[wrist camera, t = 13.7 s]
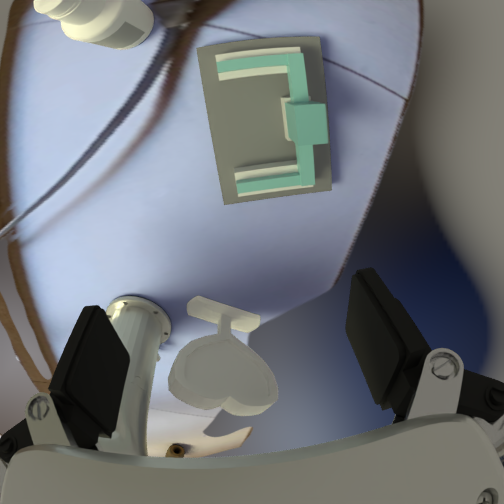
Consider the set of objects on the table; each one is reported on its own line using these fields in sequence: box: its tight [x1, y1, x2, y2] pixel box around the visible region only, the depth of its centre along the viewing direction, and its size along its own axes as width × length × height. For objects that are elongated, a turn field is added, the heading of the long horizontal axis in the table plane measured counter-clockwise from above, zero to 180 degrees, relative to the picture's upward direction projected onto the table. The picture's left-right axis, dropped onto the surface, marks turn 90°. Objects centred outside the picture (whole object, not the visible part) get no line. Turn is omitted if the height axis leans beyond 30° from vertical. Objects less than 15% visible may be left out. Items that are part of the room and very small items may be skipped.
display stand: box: [196, 37, 332, 205], centre depth 31 cm, size 20×14×4 cm
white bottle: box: [34, 0, 154, 50], centre depth 16 cm, size 7×7×18 cm
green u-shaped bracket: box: [216, 53, 328, 194], centre depth 27 cm, size 15×10×5 cm, turn 8°
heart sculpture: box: [168, 296, 278, 416], centre depth 42 cm, size 16×5×18 cm, turn 63°
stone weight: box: [165, 445, 185, 458], centre depth 86 cm, size 15×7×7 cm, turn 164°
